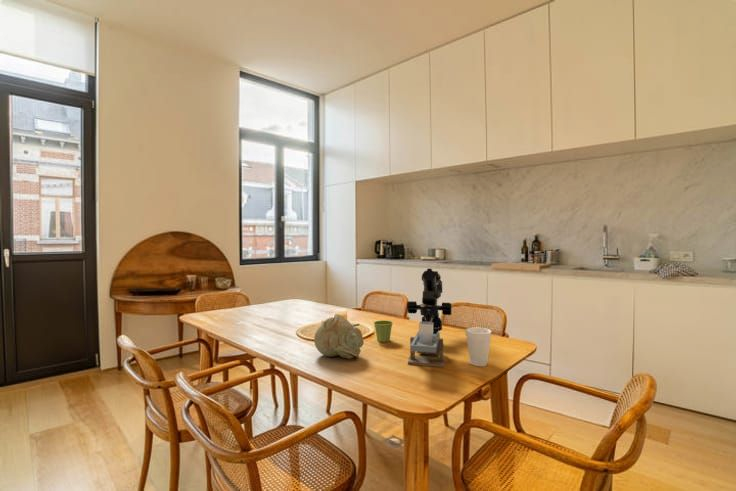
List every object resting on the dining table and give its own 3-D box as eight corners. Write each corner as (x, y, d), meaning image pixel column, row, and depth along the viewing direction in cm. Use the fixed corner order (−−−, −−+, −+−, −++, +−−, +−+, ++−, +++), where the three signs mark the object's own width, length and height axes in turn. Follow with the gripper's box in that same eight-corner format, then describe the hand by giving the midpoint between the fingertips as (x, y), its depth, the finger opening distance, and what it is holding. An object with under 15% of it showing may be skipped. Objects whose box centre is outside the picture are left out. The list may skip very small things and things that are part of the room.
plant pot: (370, 342, 173) (370, 324, 173) (377, 337, 182) (377, 319, 182) (389, 344, 170) (389, 325, 169) (395, 338, 178) (395, 321, 178)
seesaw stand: (410, 357, 151) (410, 334, 151) (445, 360, 148) (445, 336, 147) (407, 364, 143) (407, 340, 143) (444, 367, 140) (444, 342, 140)
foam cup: (487, 369, 137) (487, 334, 137) (463, 365, 142) (463, 331, 142) (493, 361, 145) (493, 329, 145) (470, 357, 150) (470, 326, 150)
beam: (418, 349, 158) (418, 330, 158) (439, 350, 156) (439, 331, 156) (410, 368, 130) (410, 345, 131) (435, 370, 128) (435, 346, 129)
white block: (420, 339, 146) (420, 321, 146) (433, 339, 145) (433, 321, 145) (418, 342, 140) (418, 323, 141) (432, 343, 139) (432, 324, 139)
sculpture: (313, 368, 142) (361, 350, 140) (302, 320, 151) (346, 302, 149) (330, 371, 158) (372, 355, 156) (318, 327, 167) (359, 311, 165)
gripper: (407, 282, 159) (403, 313, 149) (451, 283, 155) (450, 315, 144) (409, 297, 167) (406, 327, 157) (451, 299, 163) (451, 330, 152)
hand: (428, 325), depth 152 cm, fingers closed
